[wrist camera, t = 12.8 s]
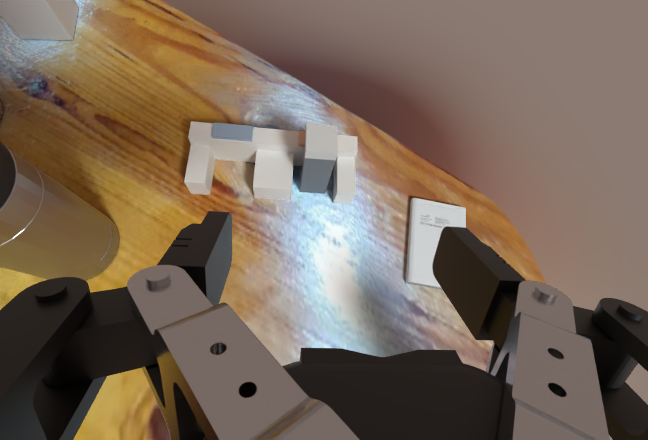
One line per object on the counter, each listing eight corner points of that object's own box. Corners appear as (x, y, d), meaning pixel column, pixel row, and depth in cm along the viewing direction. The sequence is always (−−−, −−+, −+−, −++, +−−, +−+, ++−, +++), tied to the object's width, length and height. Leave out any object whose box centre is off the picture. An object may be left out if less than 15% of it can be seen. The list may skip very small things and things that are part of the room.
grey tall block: (299, 191, 46) (305, 150, 36) (300, 169, 47) (306, 123, 37) (324, 193, 47) (337, 153, 36) (325, 171, 48) (337, 126, 38)
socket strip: (191, 193, 44) (179, 174, 39) (199, 142, 47) (189, 118, 42) (350, 204, 47) (359, 187, 41) (349, 155, 49) (358, 134, 44)
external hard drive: (403, 283, 44) (409, 201, 49) (461, 293, 45) (461, 211, 49) (408, 281, 43) (413, 196, 47) (467, 292, 43) (467, 207, 48)
